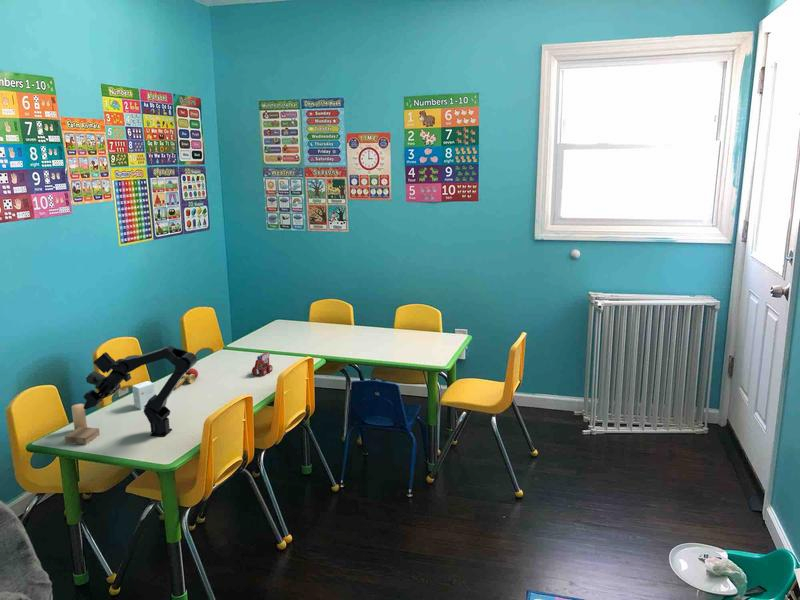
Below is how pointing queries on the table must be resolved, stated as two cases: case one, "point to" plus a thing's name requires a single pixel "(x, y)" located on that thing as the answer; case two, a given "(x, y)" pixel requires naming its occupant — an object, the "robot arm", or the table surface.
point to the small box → (143, 393)
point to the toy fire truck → (262, 365)
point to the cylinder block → (79, 416)
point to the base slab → (82, 435)
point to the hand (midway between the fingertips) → (90, 404)
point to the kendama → (188, 377)
